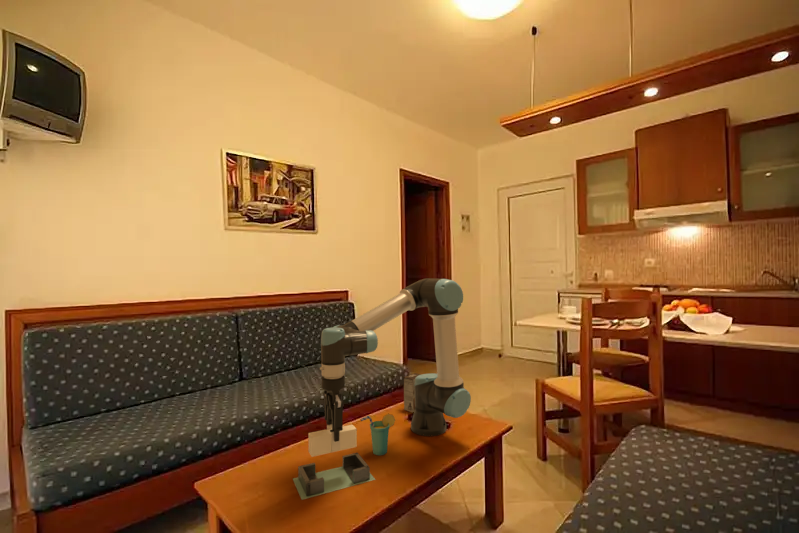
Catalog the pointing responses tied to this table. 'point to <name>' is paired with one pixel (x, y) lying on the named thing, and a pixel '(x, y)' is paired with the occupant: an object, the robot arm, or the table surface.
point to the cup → (380, 433)
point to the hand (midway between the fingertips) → (333, 447)
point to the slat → (322, 440)
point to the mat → (330, 481)
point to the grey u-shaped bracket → (356, 468)
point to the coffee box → (409, 392)
